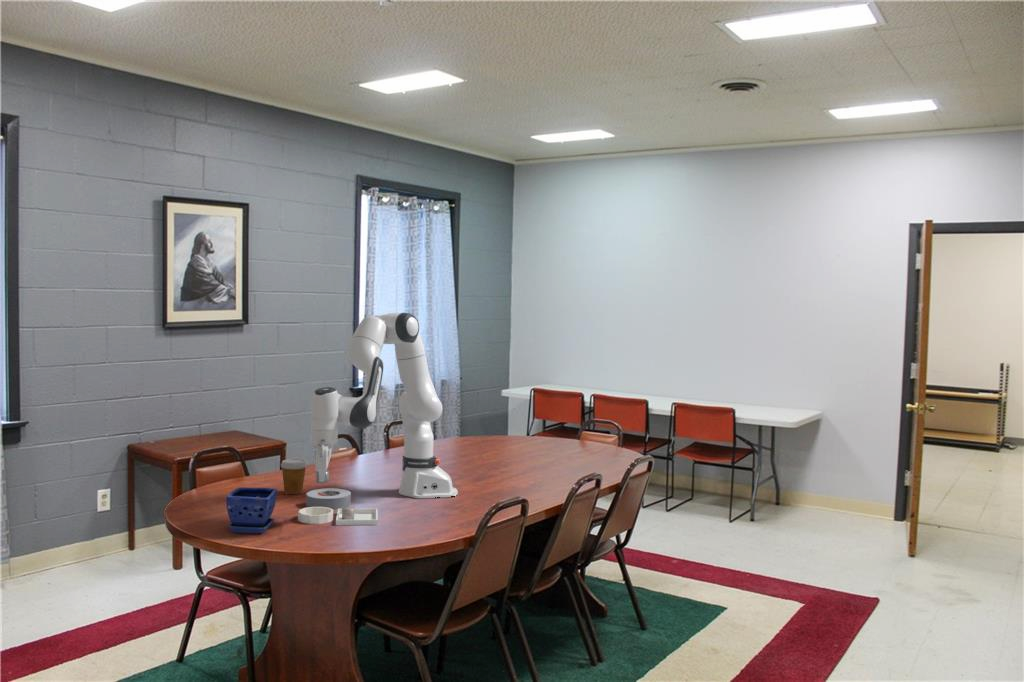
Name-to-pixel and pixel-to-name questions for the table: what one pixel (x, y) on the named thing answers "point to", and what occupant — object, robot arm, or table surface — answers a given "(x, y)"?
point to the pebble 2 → (348, 513)
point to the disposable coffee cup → (293, 475)
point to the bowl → (315, 515)
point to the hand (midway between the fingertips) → (322, 479)
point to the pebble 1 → (325, 477)
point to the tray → (359, 517)
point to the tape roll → (329, 498)
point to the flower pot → (251, 509)
